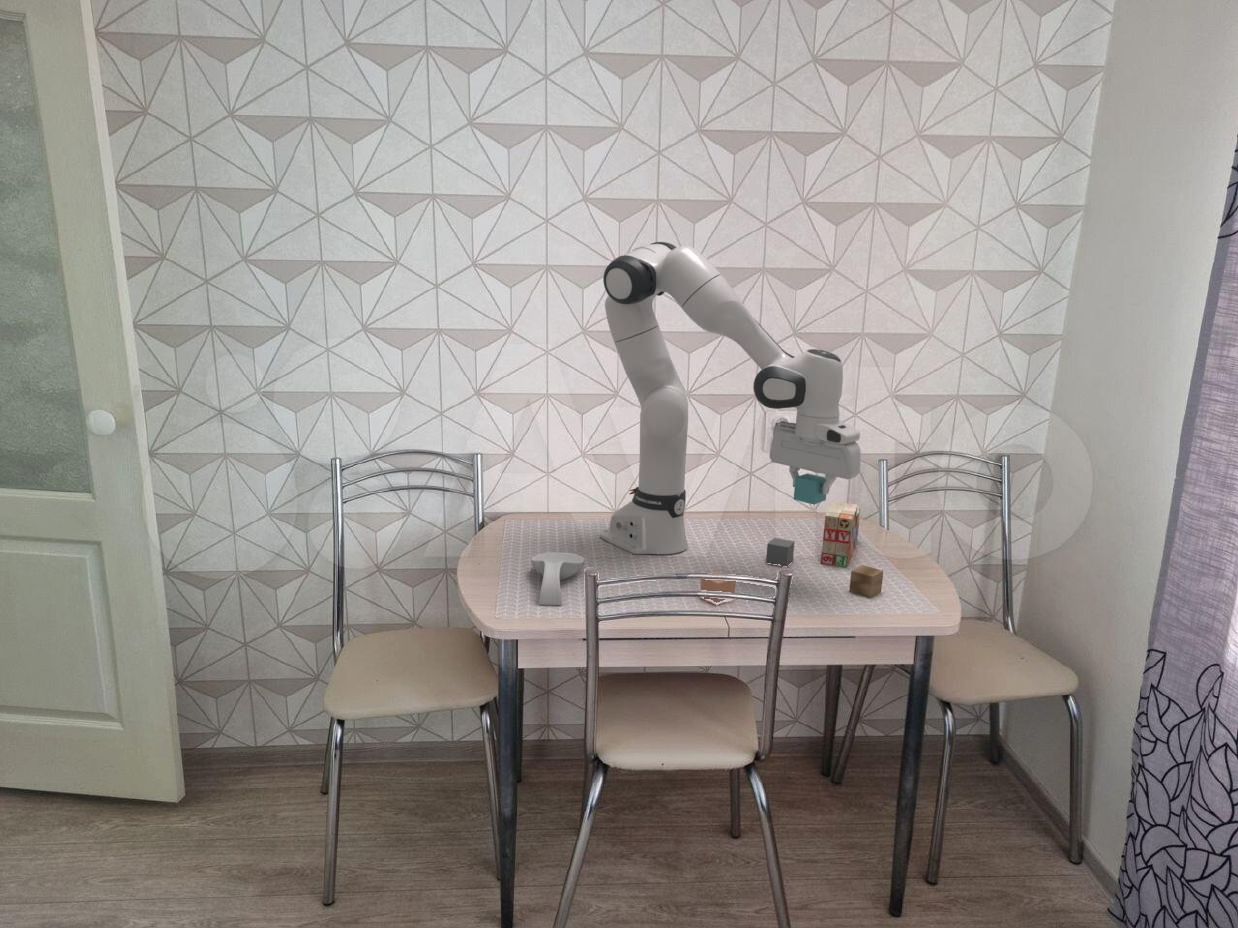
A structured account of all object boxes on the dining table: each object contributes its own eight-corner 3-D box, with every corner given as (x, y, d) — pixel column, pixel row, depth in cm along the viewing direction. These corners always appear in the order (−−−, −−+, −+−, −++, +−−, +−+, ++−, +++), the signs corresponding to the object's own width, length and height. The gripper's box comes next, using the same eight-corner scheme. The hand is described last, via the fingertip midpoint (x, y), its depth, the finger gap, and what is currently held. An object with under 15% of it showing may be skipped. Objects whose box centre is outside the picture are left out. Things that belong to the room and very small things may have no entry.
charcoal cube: (765, 563, 210) (767, 543, 209) (772, 557, 215) (774, 537, 213) (786, 567, 208) (788, 547, 207) (792, 561, 212) (794, 541, 211)
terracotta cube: (700, 598, 189) (701, 575, 188) (717, 593, 192) (718, 571, 191) (716, 606, 185) (718, 583, 184) (733, 600, 188) (735, 578, 187)
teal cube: (793, 499, 194) (795, 477, 192) (805, 495, 197) (807, 473, 196) (813, 504, 190) (816, 481, 189) (825, 500, 194) (828, 477, 193)
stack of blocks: (832, 537, 231) (837, 491, 228) (857, 541, 228) (862, 494, 225) (820, 564, 211) (825, 514, 208) (847, 568, 209) (852, 518, 206)
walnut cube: (849, 592, 195) (851, 570, 194) (859, 586, 199) (862, 564, 197) (870, 598, 192) (872, 576, 190) (881, 592, 195) (883, 570, 194)
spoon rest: (533, 564, 205) (533, 535, 203) (584, 566, 205) (585, 536, 203) (522, 606, 182) (522, 573, 180) (580, 608, 182) (581, 575, 180)
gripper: (766, 421, 194) (761, 482, 198) (852, 438, 181) (845, 503, 184) (782, 417, 199) (777, 477, 202) (867, 433, 186) (860, 497, 189)
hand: (810, 490), depth 193 cm, fingers closed on teal cube, 5 cm apart
